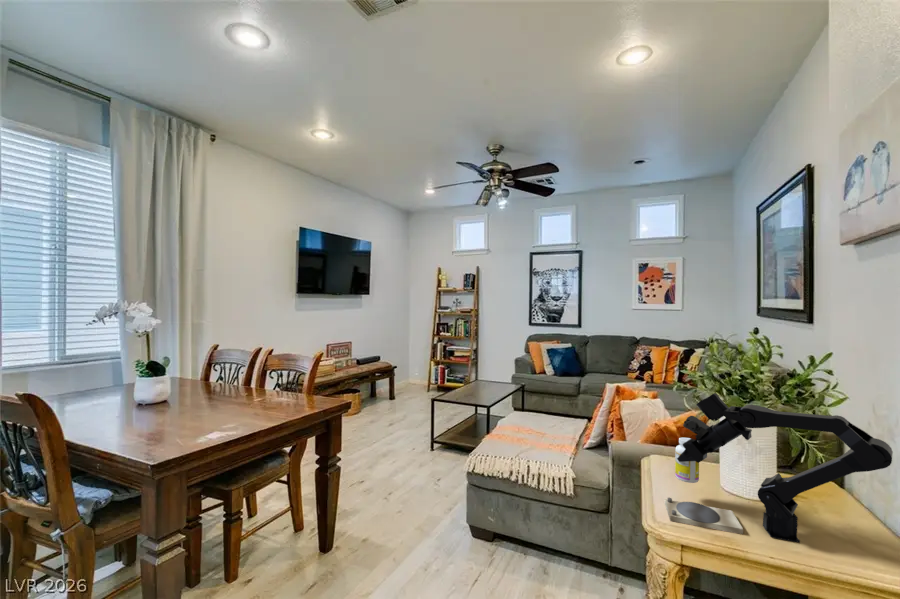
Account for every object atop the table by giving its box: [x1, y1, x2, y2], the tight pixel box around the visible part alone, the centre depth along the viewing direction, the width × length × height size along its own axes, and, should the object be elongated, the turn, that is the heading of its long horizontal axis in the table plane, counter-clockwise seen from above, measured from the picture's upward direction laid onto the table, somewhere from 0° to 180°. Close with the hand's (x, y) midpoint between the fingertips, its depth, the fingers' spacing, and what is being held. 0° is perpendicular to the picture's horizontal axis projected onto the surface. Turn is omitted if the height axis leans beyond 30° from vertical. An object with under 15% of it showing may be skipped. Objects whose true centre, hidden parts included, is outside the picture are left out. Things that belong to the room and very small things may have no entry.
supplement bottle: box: [674, 437, 700, 484], centre depth 129 cm, size 7×7×13 cm
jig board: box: [664, 497, 744, 535], centre depth 119 cm, size 18×11×2 cm, turn 70°
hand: (682, 457), depth 130 cm, fingers closed on supplement bottle, 7 cm apart
